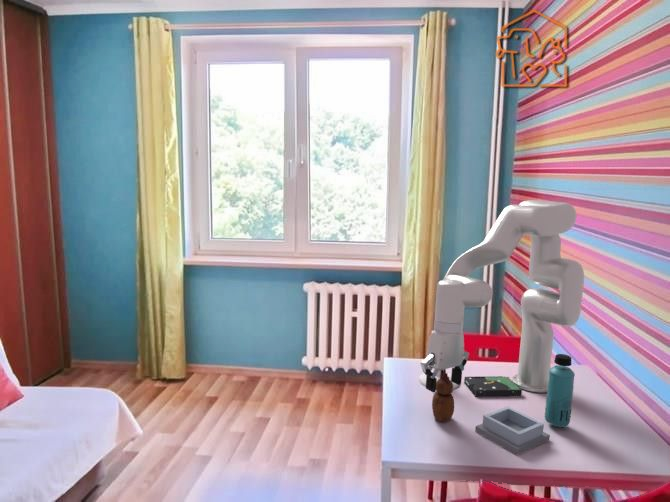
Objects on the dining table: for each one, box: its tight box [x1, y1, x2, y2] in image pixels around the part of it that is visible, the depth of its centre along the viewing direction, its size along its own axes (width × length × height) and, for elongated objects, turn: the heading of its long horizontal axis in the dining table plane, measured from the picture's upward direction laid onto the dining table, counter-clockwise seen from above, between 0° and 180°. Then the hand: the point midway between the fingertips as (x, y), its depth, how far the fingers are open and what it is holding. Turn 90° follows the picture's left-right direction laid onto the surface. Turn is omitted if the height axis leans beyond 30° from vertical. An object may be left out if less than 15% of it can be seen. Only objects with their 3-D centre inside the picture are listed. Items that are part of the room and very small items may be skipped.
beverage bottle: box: [543, 353, 576, 427], centre depth 135 cm, size 6×7×20 cm
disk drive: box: [463, 375, 523, 398], centre depth 158 cm, size 10×3×15 cm
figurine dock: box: [474, 406, 551, 456], centre depth 130 cm, size 13×13×4 cm
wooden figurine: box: [431, 369, 455, 423], centre depth 138 cm, size 7×6×15 cm
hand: (443, 386), depth 137 cm, fingers open, 9 cm apart
